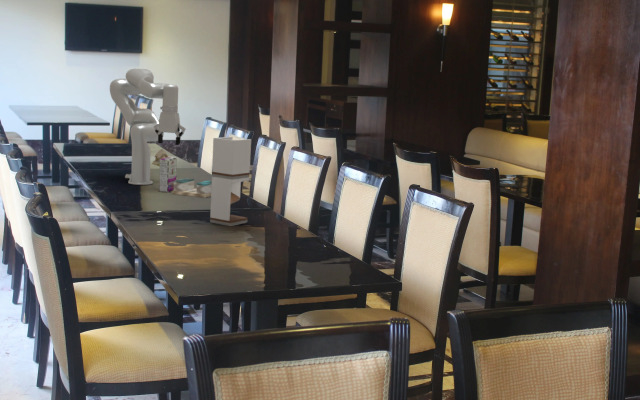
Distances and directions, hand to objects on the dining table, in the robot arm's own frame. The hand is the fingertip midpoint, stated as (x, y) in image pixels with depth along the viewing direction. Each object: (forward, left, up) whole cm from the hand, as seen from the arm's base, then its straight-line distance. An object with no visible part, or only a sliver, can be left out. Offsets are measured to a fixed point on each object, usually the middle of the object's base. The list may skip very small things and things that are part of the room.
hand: (169, 143), depth 401 cm
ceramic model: (-52, +87, -24) cm, 105 cm away
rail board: (+16, -1, -24) cm, 28 cm away
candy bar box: (0, 0, -24) cm, 24 cm away
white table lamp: (+60, -57, -24) cm, 86 cm away
